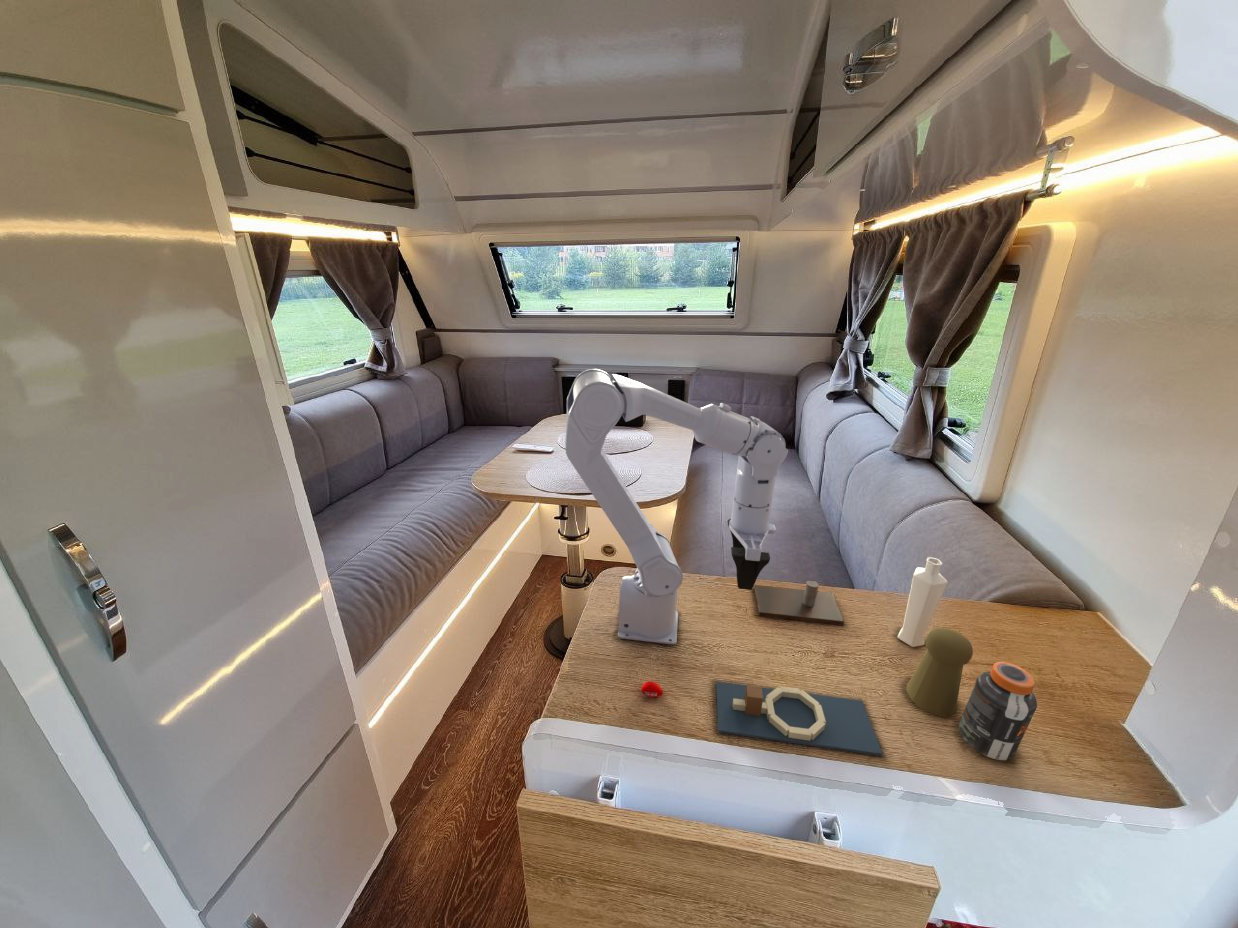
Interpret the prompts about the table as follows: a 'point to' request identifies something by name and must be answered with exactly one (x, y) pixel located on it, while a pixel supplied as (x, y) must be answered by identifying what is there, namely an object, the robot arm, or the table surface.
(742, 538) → the robot arm
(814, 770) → the table surface
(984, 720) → the pill bottle
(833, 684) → the table surface
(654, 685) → the candy
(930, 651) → the pepper shaker
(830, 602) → the peg stand
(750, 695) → the octagonal ring with handle
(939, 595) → the perfume bottle
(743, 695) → the mat
